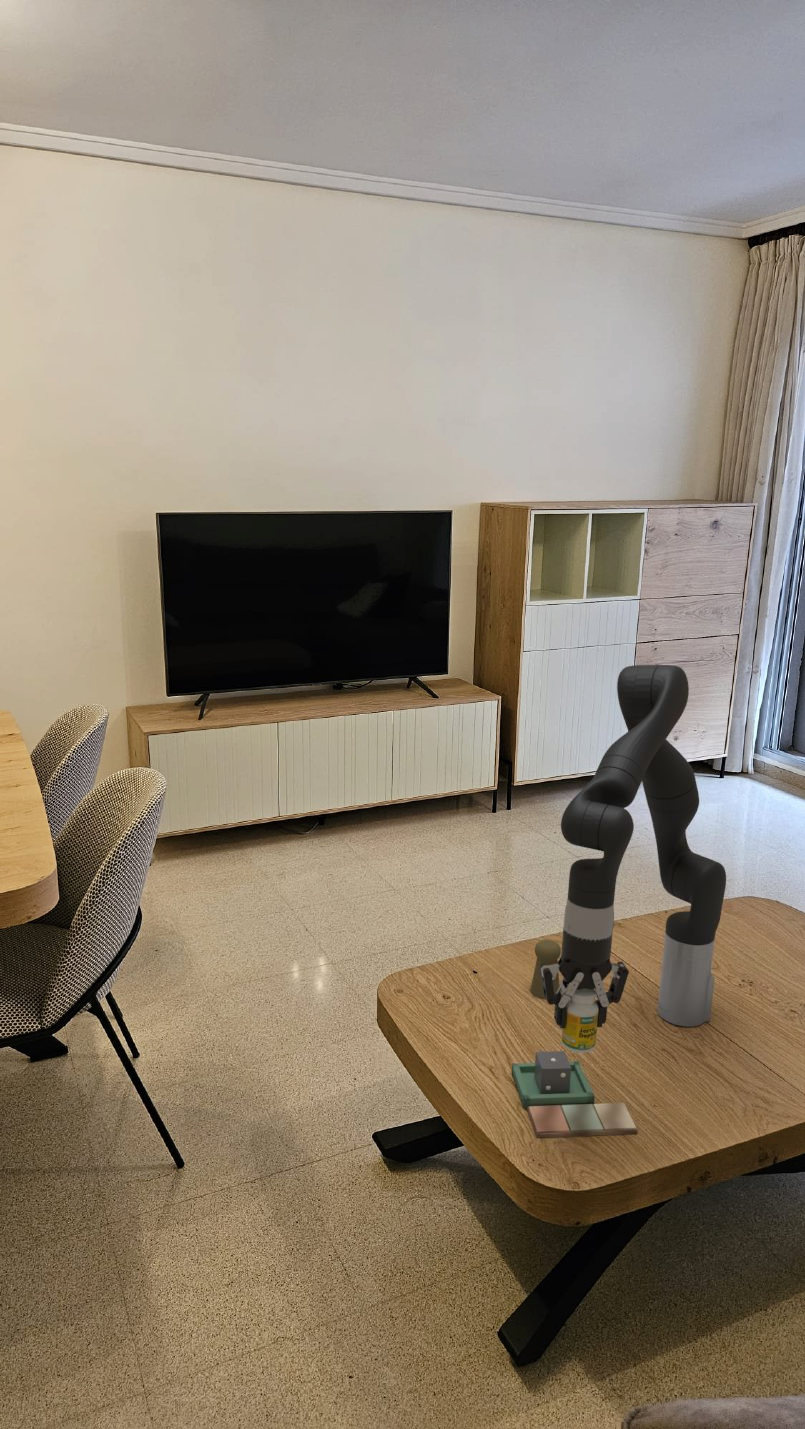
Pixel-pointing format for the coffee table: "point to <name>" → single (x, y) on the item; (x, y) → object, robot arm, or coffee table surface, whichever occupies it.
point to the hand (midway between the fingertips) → (579, 1024)
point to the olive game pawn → (546, 954)
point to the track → (581, 1120)
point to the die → (552, 1072)
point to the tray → (532, 1097)
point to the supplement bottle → (581, 1022)
